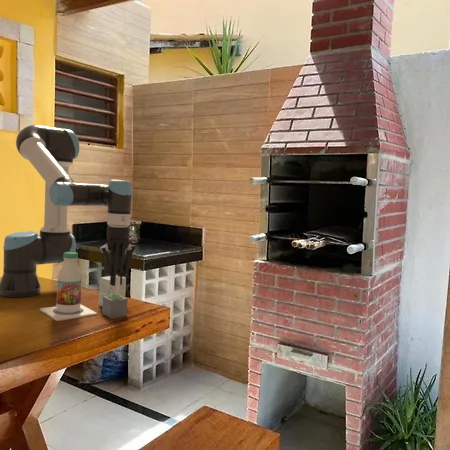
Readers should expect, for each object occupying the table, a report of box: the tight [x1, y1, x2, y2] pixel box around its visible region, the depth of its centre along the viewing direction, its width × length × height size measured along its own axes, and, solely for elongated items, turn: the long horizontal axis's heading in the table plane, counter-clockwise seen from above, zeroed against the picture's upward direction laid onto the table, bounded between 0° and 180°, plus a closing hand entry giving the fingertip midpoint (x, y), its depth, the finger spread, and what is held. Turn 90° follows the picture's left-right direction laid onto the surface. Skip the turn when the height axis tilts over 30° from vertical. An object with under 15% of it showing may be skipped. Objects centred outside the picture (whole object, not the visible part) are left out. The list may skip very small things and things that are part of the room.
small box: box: [98, 275, 127, 308], centre depth 169 cm, size 8×6×10 cm
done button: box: [110, 294, 121, 300], centre depth 158 cm, size 4×4×5 cm
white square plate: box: [39, 303, 98, 322], centre depth 157 cm, size 14×14×1 cm
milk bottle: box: [56, 251, 82, 313], centre depth 156 cm, size 8×8×20 cm
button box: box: [101, 296, 128, 319], centre depth 158 cm, size 6×6×6 cm
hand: (115, 294), depth 157 cm, fingers closed
